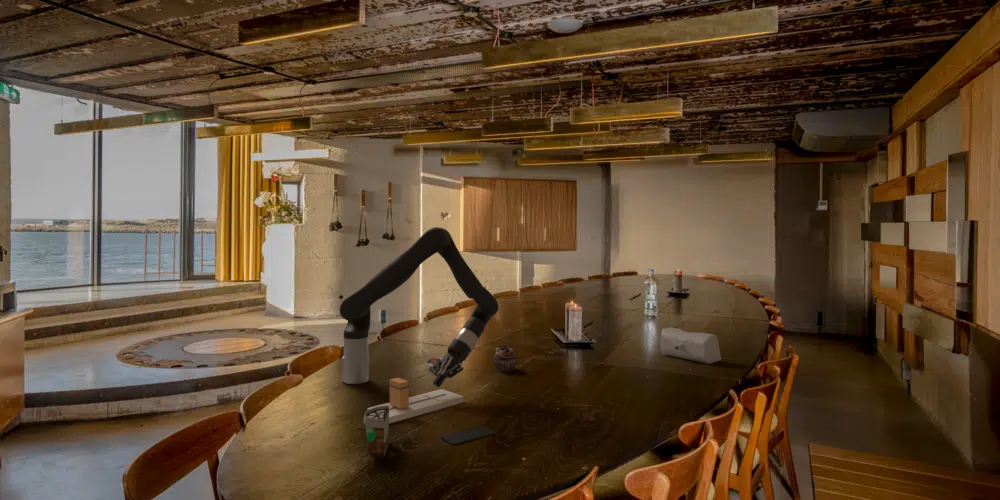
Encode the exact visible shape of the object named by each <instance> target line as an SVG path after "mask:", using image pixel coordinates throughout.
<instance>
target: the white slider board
mask: <svg viewBox="0 0 1000 500" xmlns="http://www.w3.org/2000/svg"><path fill="white" fill-rule="evenodd" d="M464 398H465V396H463V395H460V394H458V393H455V392H452V391H448V390H445V389H443V388H441V389H437V390H436V389H435V390H434V391H432V390H431V391H429V392H424V393H421V394H417V395H413V396H409V407H406V408H402V409H399V408H397V407H394V406H392V405H390V401H389V402H386V403H382V404H378V405H374V406H371V407H368V408H366V409H367V410H366V412H367V411H368V410H370V409H372V408H375V407H379V406H389V425H390V424H392V423H396V422H400V421H403V420H407V419H410V418H413V417H418V416H420V415H424V414H427V413H430V412H434V411H438V410H441V409H445V408H448V407H452V406H456V405H458V404H462V403H464Z"/></svg>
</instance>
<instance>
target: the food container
mask: <svg viewBox="0 0 1000 500" xmlns="http://www.w3.org/2000/svg"><path fill="white" fill-rule="evenodd" d="M362 423H363V424H364V425H365V431H366V432H365V433H366V443H367V445H366V446H367V452H368V453H369V454H371V455H373V456H377V457H385V456H386V453H387V449H388V446H389V443H390V442H389V441H390V424H389V406H379V407H375V408H372V409H370V410H368V411H367V410H366V412H365V413H364V416H363V421H362Z"/></svg>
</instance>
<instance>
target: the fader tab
mask: <svg viewBox="0 0 1000 500" xmlns="http://www.w3.org/2000/svg"><path fill="white" fill-rule="evenodd" d="M409 383H410V381H409V380H406V379H403V378H400V377H394V378H391V379H389V384H388V385H389V386H388V387H389V402H390V405H392V406H394V407H397V408H399V409H402V408H406V407H409V397H410V396H409V395H410V391H409V388H410V385H409Z"/></svg>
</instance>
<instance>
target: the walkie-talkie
mask: <svg viewBox="0 0 1000 500" xmlns="http://www.w3.org/2000/svg"><path fill="white" fill-rule="evenodd" d="M438 358H439V359H442V358H443V357H441V356H434V357H431V358H429V359H428V361H427V369H428V371H429V372H433V373H434V374H436V375H438V373H437V372H436V362H437V359H438Z"/></svg>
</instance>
